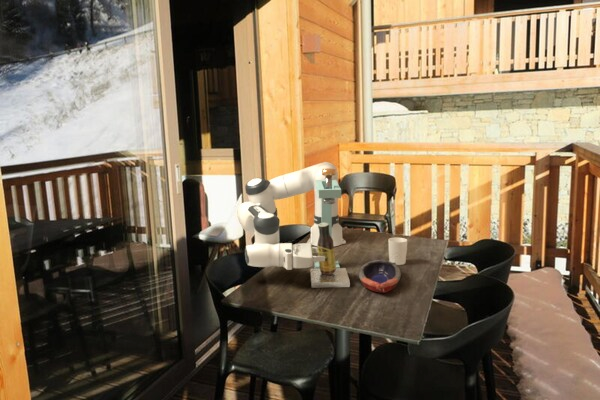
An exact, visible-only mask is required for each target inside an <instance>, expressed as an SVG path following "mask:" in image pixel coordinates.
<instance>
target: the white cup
mask: <svg viewBox="0 0 600 400" xmlns="http://www.w3.org/2000/svg"><path fill="white" fill-rule="evenodd" d="M387 242H388V259H389V260H388V261H390V262H392V263H394V262H395V263H396V265H397V266H403V265H405V264H406V262H407V261H406V260H407V252H408V239H407V238H405V237H399V236H398V237H390V238H388V241H387Z"/></svg>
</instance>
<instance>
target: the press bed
mask: <svg viewBox="0 0 600 400" xmlns="http://www.w3.org/2000/svg"><path fill="white" fill-rule="evenodd" d="M309 272H310V273H309V274H310V284H311V288H312V289H314V288H350V287H351V281H350V278H349V273H348V271H347V268H345V267H340V268H336V271H335V272H334V273H332V274H329V275H327V274H322V273H321V271H320V269H315V268H310V271H309Z"/></svg>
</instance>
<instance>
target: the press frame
mask: <svg viewBox="0 0 600 400" xmlns="http://www.w3.org/2000/svg"><path fill="white" fill-rule="evenodd" d="M316 189H317V193H318V197H319V198H321V223H328V224H329V233H330V237H331V238H332V204H324V203H323V198H338V199H341V198H342V188H341V187H340V185H339V182H338V183H337V181H336V180H332V189H326V182H325V180H316ZM335 264H336V268H341V266H340V263H339V260H335ZM313 266H314V269H320V267H319V262H313Z"/></svg>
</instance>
